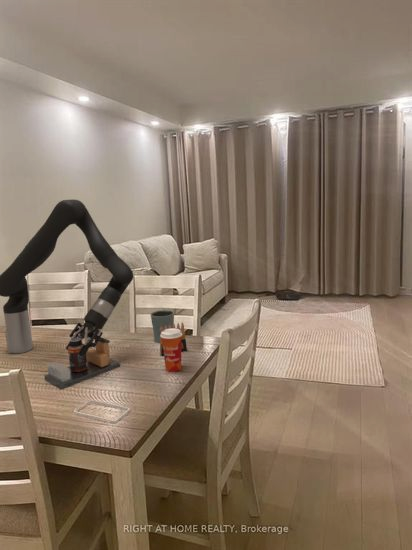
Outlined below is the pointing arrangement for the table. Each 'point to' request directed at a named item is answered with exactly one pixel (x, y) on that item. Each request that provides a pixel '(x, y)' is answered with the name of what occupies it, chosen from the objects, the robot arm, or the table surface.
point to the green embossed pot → (161, 322)
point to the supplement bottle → (76, 356)
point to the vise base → (75, 373)
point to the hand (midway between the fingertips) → (74, 352)
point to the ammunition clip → (183, 340)
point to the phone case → (101, 417)
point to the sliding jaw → (99, 353)
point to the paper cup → (172, 349)
